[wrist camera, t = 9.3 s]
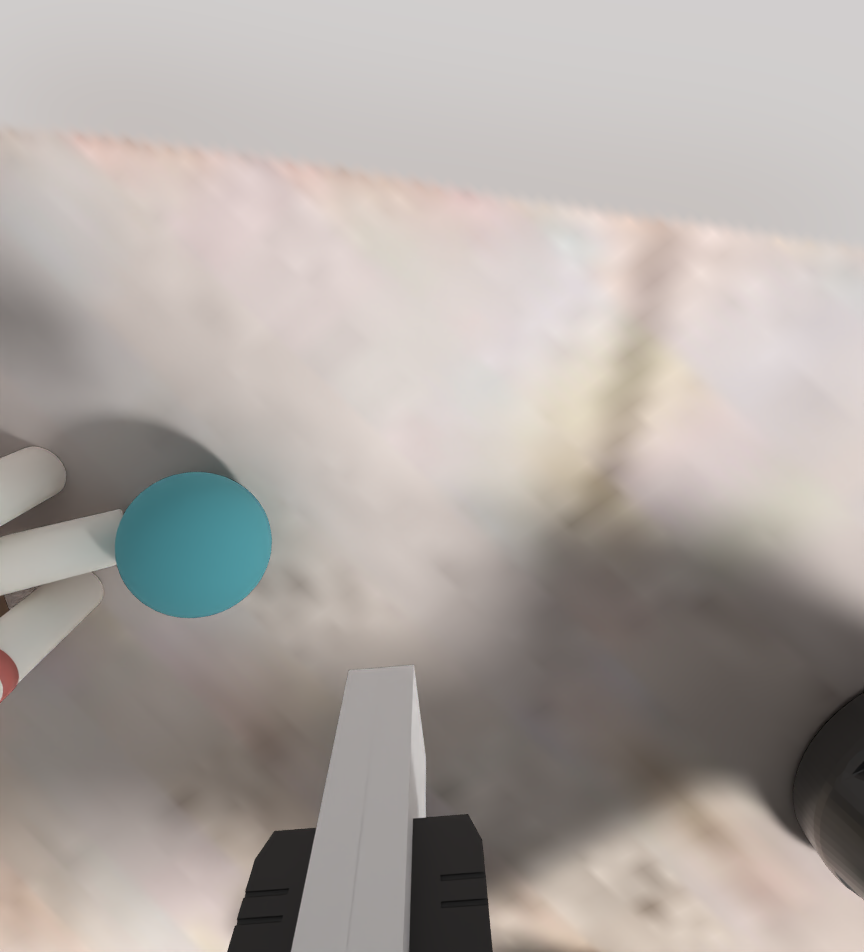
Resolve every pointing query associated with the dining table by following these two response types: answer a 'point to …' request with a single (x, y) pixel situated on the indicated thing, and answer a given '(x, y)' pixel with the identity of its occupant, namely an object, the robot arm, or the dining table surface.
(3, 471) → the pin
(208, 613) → the ball
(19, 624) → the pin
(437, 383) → the dining table surface
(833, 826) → the robot arm
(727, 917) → the dining table surface
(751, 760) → the dining table surface
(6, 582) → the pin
